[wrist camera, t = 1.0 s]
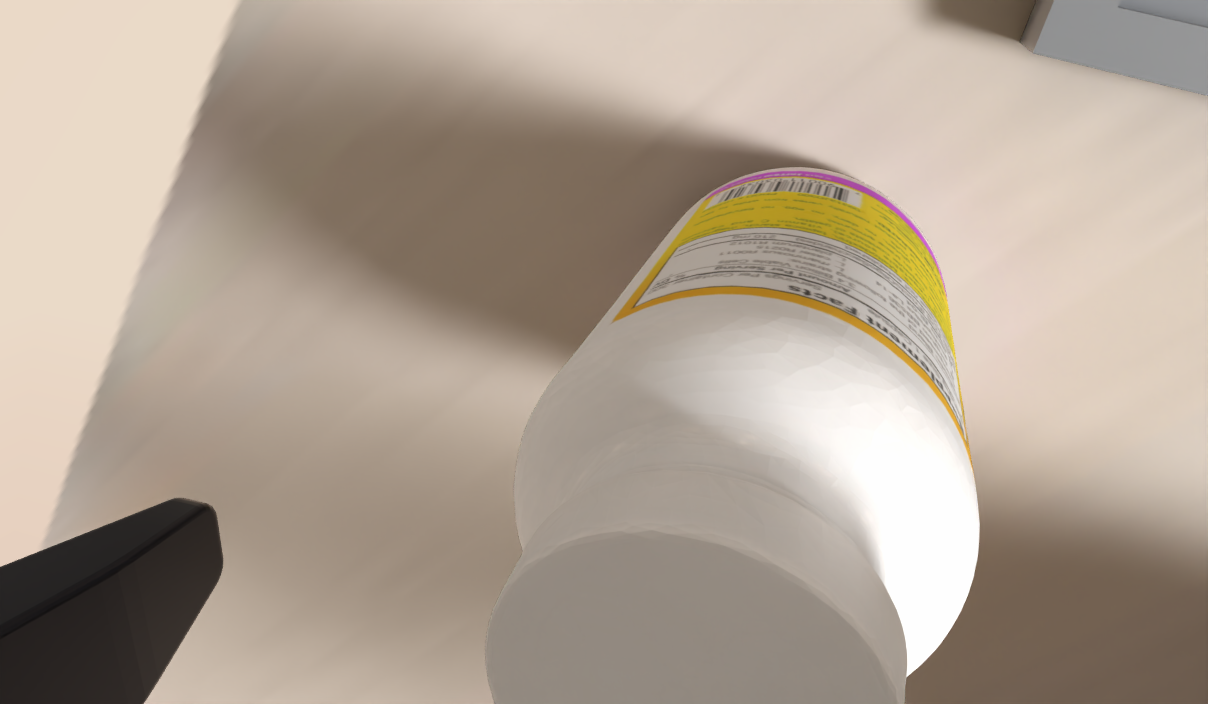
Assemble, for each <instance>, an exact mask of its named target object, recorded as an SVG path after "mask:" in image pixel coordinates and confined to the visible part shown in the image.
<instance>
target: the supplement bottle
mask: <svg viewBox="0 0 1208 704" xmlns="http://www.w3.org/2000/svg"><path fill="white" fill-rule="evenodd" d="M514 506H515V517H516V526H517V531H518V537H519V540H520V544H521V547H522V551H523V553H522V555H521V556H520V558H519V560H518V562H517V564H516V566H515V567H514V569H513V571H512V573H511V575H510V576H509V578H508V580H507V582H506V584H505V586H504V587H503V589H502V591H501V593H500V595H499V597H498V600H497V602H496V604H495V606H494V608H493V611H492V614H491V618H490V621H489V625H488V630H487V635H486V644H485V660H486V669H487V676H488V682H489V686H490V690H491V693H492V697H493V700H494V704H905V685H906V677H907V676H908V675H910V674H911V673H912V672H913V671H914V670H916V669H917V668H918V667H919V666H920V665H921V664H922V663H923V662H924V661H925V660H926V659H927V658H928V657H929V656H930V655H931V654H932V653H933V652H934V651H935V650H936V649H937V647H938V646H939V645H940V644H941V643H942V641H943V640H944V638H945V637H946V635H947V634H948V632H949V631H950V629H951V628H952V626H953V624H954V623H955V621H956V619H957V618H958V616H959V614H960V612H961V610H962V607H963V605H964V603H965V601H966V598H967V596H968V593H969V590H970V587H971V584H972V581H973V577H974V573H975V568H976V563H977V558H978V548H979V529H980V522H979V512H978V502H977V493H976V486H975V479H974V472H973V467H972V461H971V455H970V449H969V443H968V436H967V430H966V423H965V417H964V410H963V403H962V397H961V391H960V385H959V378H958V371H957V364H956V357H955V349H954V342H953V336H952V330H951V322H950V315H949V309H948V303H947V295H946V290H945V286H944V282H943V277H942V274H941V270H940V267H939V264H938V261H937V259H936V256H935V254H934V252H933V250H932V248H931V246H930V244H929V242H928V241H927V239H926V237H925V236H924V234H923V233H922V231H921V230H920V228H919V227H918V226H917V225H916V223H915V222H914V221H913V220H912V219H911V217H910V216H909V215H908V214H907V213H906V212H905V211H904V210H902V209H901V208H900V207H899V206H898V205H897V204H896V203H894V202H893V201H892V200H891V199H889V198H888V197H887V196H885V195H884V194H882V193H881V192H879V191H878V190H876V189H875V188H873V187H871V186H869V185H867V184H865V183H863V182H861V181H859V180H857V179H854V178H851V177H848V176H846V175H843V174H840V173H836V172H832V171H828V170H823V169H816V168H806V167H788V168H776V169H769V170H764V171H759V172H755V173H751V174H748V175H745V176H742V177H739V178H737V179H734V180H732V181H730V182H728V183H726V184H724V185H722V186H720V187H718V188H717V189H715V190H713V191H712V192H710V193H709V194H707V195H706V196H704V197H703V198H702V199H700V200H699V201H698V202H697V203H695V204H694V205H693V206H692V207H691V208H690V209H689V210H688V211H687V212H686V213H685V214H684V215H683V216H682V218H681V219H680V220H679V221H678V222H677V223H676V224H675V226H674V227H673V228H672V229H671V231H670V232H669V233H668V234H667V236H666V237H665V238H664V239H663V241H662V242H661V243H660V245H659V246H658V247H657V248H656V250H655V251H654V252H653V254H652V255H651V256H650V257H649V259H648V260H647V261H646V263H645V264H644V265H643V266H642V268H641V269H640V270H639V272H638V273H637V274H636V275H635V277H634V278H633V279H632V281H631V282H630V283H629V285H628V286H627V287H626V288H625V290H624V291H623V292H622V294H621V295H620V296H619V298H618V299H617V300H616V302H615V303H614V304H613V305H612V307H611V308H610V309H609V310H608V312H607V313H606V314H605V315H604V317H603V318H602V319H601V320H600V322H599V323H598V324H597V325H596V327H595V328H594V329H593V330H592V332H591V333H590V334H589V336H588V337H587V338H586V339H585V341H584V342H583V343H582V344H581V346H580V347H579V348H578V349H577V351H576V352H575V353H574V354H573V355H572V357H571V358H570V359H569V360H568V362H567V363H566V364H565V365H564V366H563V368H562V369H561V370H560V371H559V372H558V374H557V375H556V376H555V377H554V378H553V380H552V381H551V382H550V384H549V385H548V387H547V388H546V390H545V391H544V393H543V394H542V396H541V398H540V400H539V401H538V403H537V405H536V407H535V408H534V410H533V412H532V414H531V416H530V418H529V421H528V423H527V426H526V428H525V431H524V434H523V436H522V440H521V444H520V448H519V452H518V457H517V464H516V471H515V478H514Z"/></svg>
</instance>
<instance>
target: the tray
mask: <svg viewBox="0 0 1208 704" xmlns="http://www.w3.org/2000/svg"><path fill="white" fill-rule="evenodd" d="M1020 43H1021V44H1023V45H1024V46H1025V47H1026V48H1027V49H1028V50H1029V51H1031V52H1032V53H1034V54H1038V55H1042V56H1046V57H1050V58H1054V59H1058V60H1063V61H1067V62H1071V63H1075V64H1079V65H1083V66H1087V67H1091V68H1096V69H1100V70H1104V71H1108V72H1112V73H1116V74H1120V75H1124V76H1128V77H1133V78H1137V79H1141V80H1145V81H1149V82H1153V83H1157V84H1161V85H1166V86H1170V87H1174V88H1178V89H1182V90H1186V91H1190V92H1194V93H1198V94H1203V95H1207V96H1208V0H1036V2H1035V5H1034V7H1033V10H1032V12H1031V15H1030V17H1029V20H1028V22H1027V25H1026V27H1025V30H1024V32H1023V35H1022V37H1021V40H1020Z"/></svg>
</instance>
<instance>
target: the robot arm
mask: <svg viewBox="0 0 1208 704" xmlns="http://www.w3.org/2000/svg"><path fill="white" fill-rule="evenodd" d="M222 569H223V554H222V547H221V540H220V533H219V527H218V520H217V515H216V511H215V510H214V508H213V507H212V506H211V505H209V504H207V503H203V502H198V501H194V500H190V499H186V498H174V499H171V500H168V501H166V502H163V503H161V504H158V505H156V506H153V507H151V508H148V509H146V510H143V511H140V512H138V513H135V514H133V515H130V516H128V517H125V518H123V519H120V520H118V521H115V522H113V523H110V524H108V525H105V526H103V527H100V528H98V529H95V530H92V531H90V532H87V533H85V534H82V535H80V536H77V537H75V538H72V539H70V540H67V541H65V542H62V543H60V544H57V545H55V546H52V547H50V548H47V549H44V550H42V551H39V552H37V553H35V554H32V555H29V556H27V557H24V558H22V559H19V560H17V561H14V562H12V563H9V564H7V565H4V566H2V567H0V704H144V702H145V701H146V699H147V698H148V696H149V695H150V693H151V692H152V690H153V688H154V687H155V685H156V684H157V682H158V681H159V679H160V677H161V676H162V674H163V672H164V671H165V669H166V667H167V666H168V664H169V663H170V661H171V659H172V658H173V656H174V654H175V653H176V651H177V649H178V648H179V646H180V644H181V643H182V641H183V639H184V638H185V636H186V634H187V633H188V631H189V629H190V628H191V626H192V624H193V623H194V621H195V619H196V618H197V616H198V614H199V613H200V611H201V609H202V608H203V606H204V604H205V603H206V601H207V599H208V598H209V596H210V594H211V593H212V591H213V589H214V588H215V586H216V584H217V582H218V580H219V578H220V576H221V573H222Z"/></svg>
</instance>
